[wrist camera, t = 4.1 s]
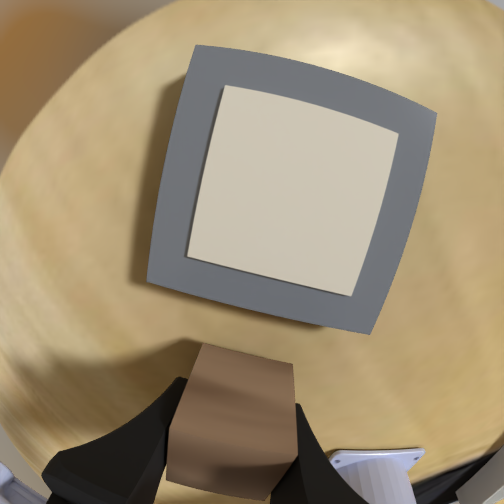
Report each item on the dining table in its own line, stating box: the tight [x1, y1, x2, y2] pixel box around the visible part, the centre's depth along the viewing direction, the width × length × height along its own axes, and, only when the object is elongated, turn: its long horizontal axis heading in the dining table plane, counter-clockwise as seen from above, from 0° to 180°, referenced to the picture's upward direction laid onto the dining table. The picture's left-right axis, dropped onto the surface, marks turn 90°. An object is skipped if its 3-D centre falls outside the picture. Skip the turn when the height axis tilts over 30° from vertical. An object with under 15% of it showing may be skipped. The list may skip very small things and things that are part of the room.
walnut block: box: [166, 343, 298, 501], centre depth 10 cm, size 4×4×5 cm
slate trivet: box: [146, 45, 437, 335], centre depth 10 cm, size 9×9×2 cm
